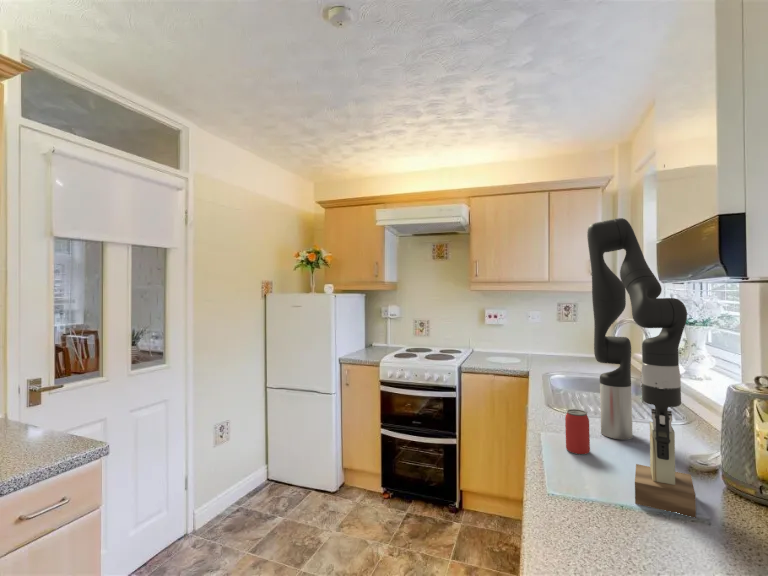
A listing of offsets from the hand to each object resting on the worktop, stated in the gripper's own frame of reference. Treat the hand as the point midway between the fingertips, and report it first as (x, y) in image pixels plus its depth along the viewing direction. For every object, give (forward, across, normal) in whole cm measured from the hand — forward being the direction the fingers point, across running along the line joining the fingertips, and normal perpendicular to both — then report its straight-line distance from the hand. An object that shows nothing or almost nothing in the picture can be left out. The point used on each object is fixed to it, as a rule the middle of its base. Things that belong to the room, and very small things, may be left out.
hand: (662, 452), depth 92 cm
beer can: (+11, -20, -21) cm, 31 cm away
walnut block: (+11, 0, 0) cm, 11 cm away
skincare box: (+6, 0, 0) cm, 6 cm away
